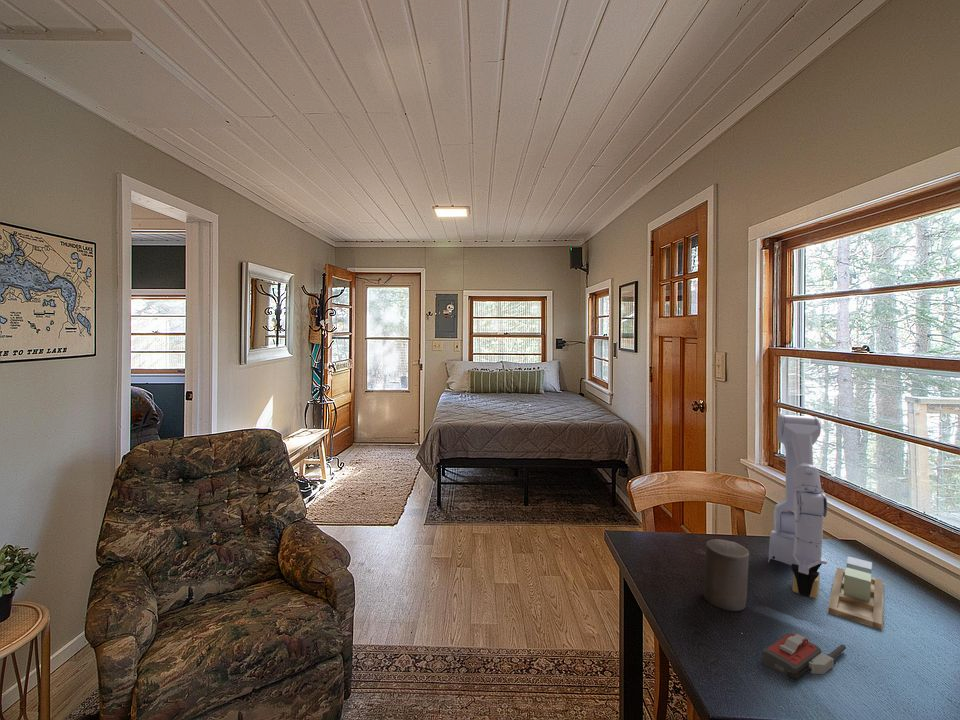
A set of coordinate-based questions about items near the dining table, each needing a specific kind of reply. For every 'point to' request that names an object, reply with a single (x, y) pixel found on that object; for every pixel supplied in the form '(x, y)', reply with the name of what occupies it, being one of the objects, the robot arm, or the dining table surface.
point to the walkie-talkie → (798, 656)
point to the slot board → (857, 602)
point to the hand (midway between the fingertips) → (805, 590)
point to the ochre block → (814, 588)
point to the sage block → (857, 584)
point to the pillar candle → (726, 574)
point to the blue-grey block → (859, 564)
